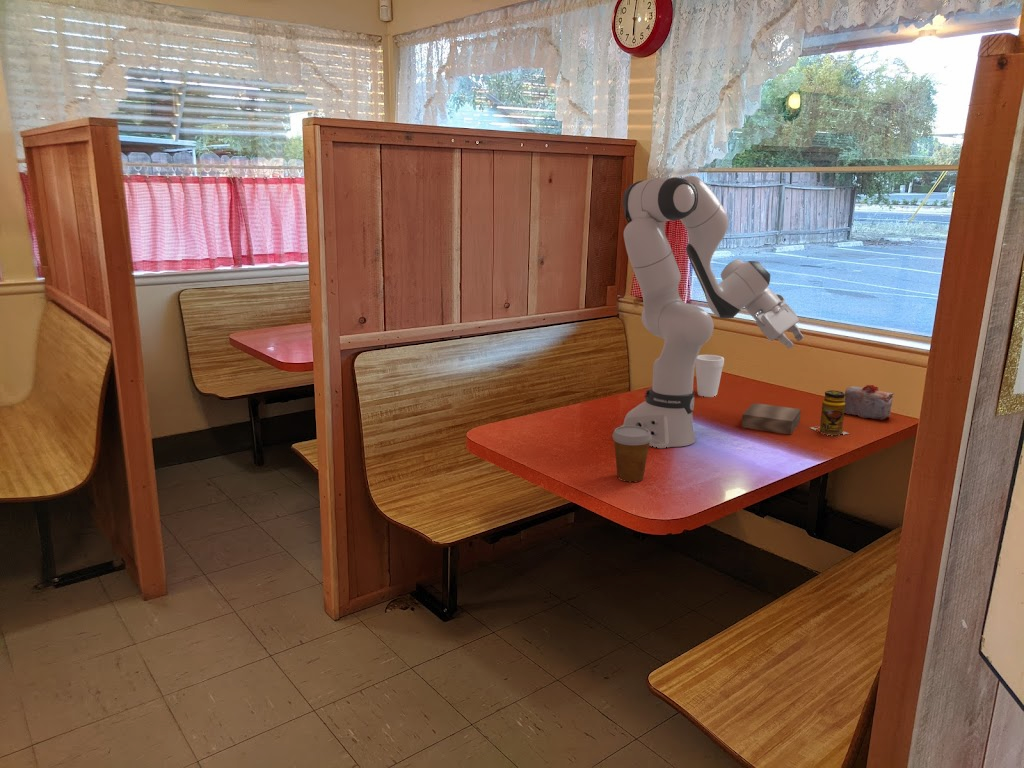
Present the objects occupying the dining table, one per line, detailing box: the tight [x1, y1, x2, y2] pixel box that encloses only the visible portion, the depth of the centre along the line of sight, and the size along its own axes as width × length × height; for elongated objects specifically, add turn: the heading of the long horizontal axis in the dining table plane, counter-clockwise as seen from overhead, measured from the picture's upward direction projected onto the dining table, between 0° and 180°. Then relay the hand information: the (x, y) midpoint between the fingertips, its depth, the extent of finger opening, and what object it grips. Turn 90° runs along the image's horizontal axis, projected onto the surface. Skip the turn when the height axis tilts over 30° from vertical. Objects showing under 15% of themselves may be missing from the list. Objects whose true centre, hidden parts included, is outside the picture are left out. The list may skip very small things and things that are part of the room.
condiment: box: [809, 389, 850, 437], centre depth 217 cm, size 7×8×12 cm
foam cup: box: [695, 354, 725, 398], centre depth 255 cm, size 10×9×13 cm
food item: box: [844, 384, 895, 421], centre depth 232 cm, size 14×8×10 cm, turn 50°
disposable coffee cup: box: [611, 425, 652, 483], centre depth 182 cm, size 10×10×12 cm
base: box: [741, 402, 802, 436], centre depth 224 cm, size 14×14×4 cm
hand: (796, 343), depth 217 cm, fingers open, 8 cm apart
